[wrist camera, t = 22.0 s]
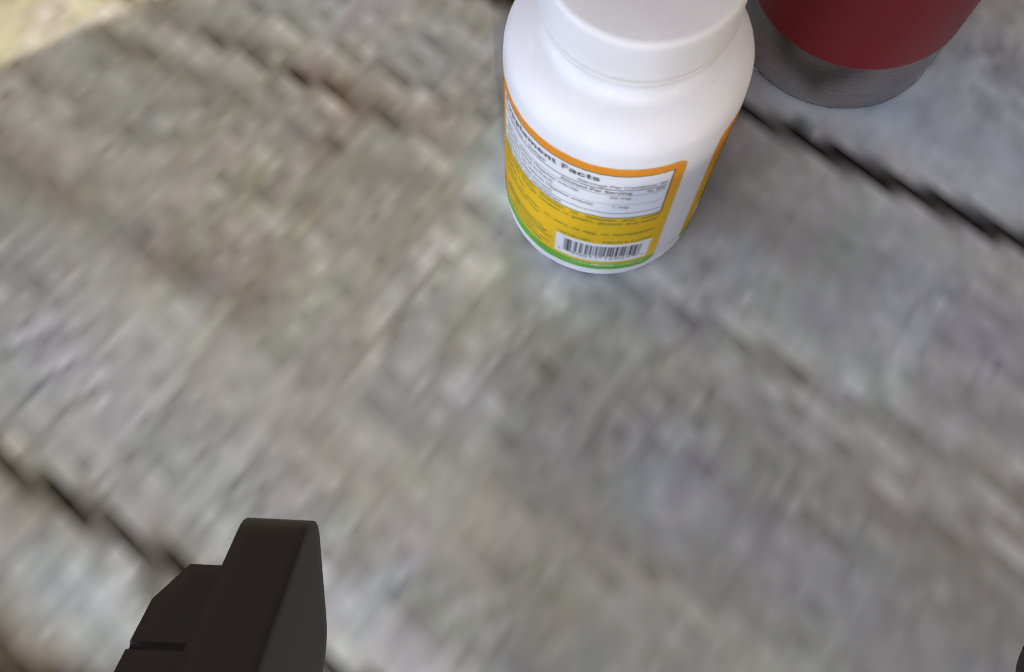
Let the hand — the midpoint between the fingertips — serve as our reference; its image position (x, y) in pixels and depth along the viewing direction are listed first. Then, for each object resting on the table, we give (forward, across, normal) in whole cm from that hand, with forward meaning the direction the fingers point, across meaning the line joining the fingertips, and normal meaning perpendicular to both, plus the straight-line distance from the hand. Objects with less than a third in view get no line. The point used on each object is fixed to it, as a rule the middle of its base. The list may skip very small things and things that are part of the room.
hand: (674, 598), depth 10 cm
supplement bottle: (+17, 0, +1) cm, 17 cm away
